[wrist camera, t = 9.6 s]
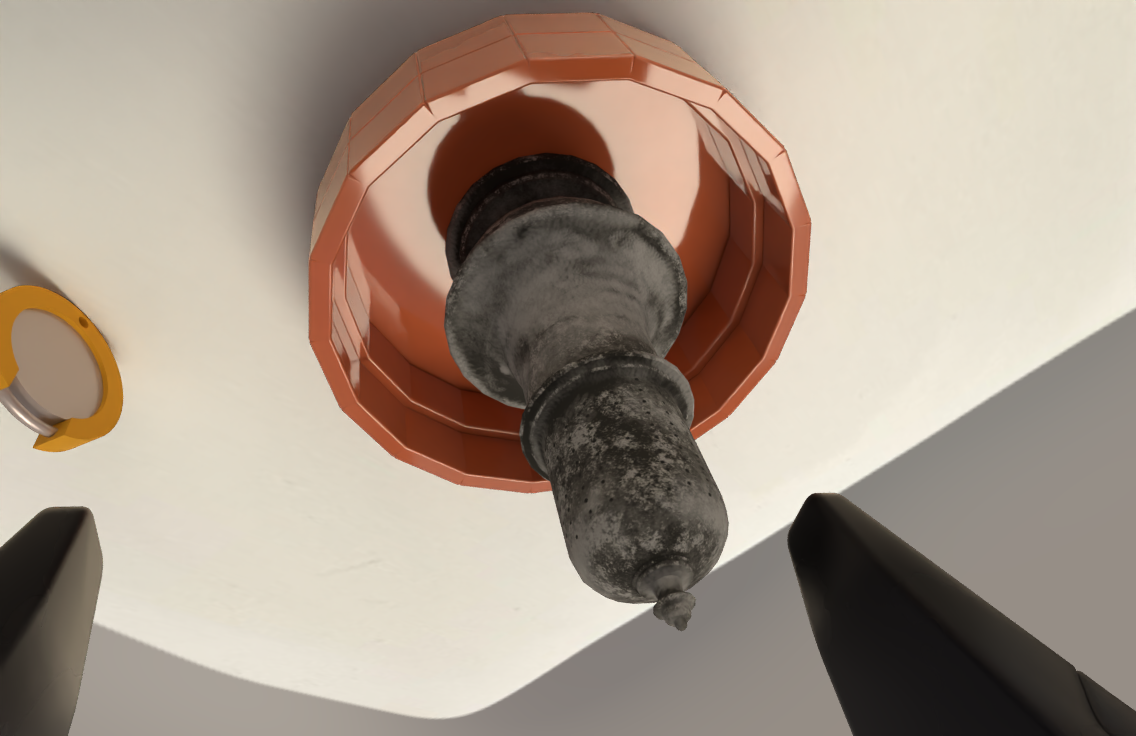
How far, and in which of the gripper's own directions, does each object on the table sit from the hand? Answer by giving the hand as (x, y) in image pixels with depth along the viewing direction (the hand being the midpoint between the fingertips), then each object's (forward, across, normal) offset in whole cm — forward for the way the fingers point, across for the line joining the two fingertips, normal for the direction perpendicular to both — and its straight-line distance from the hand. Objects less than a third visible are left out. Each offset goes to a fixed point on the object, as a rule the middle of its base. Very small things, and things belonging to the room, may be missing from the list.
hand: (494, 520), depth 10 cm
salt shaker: (+12, -3, +2) cm, 12 cm away
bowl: (+12, -3, +2) cm, 13 cm away
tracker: (+13, +9, +6) cm, 16 cm away
